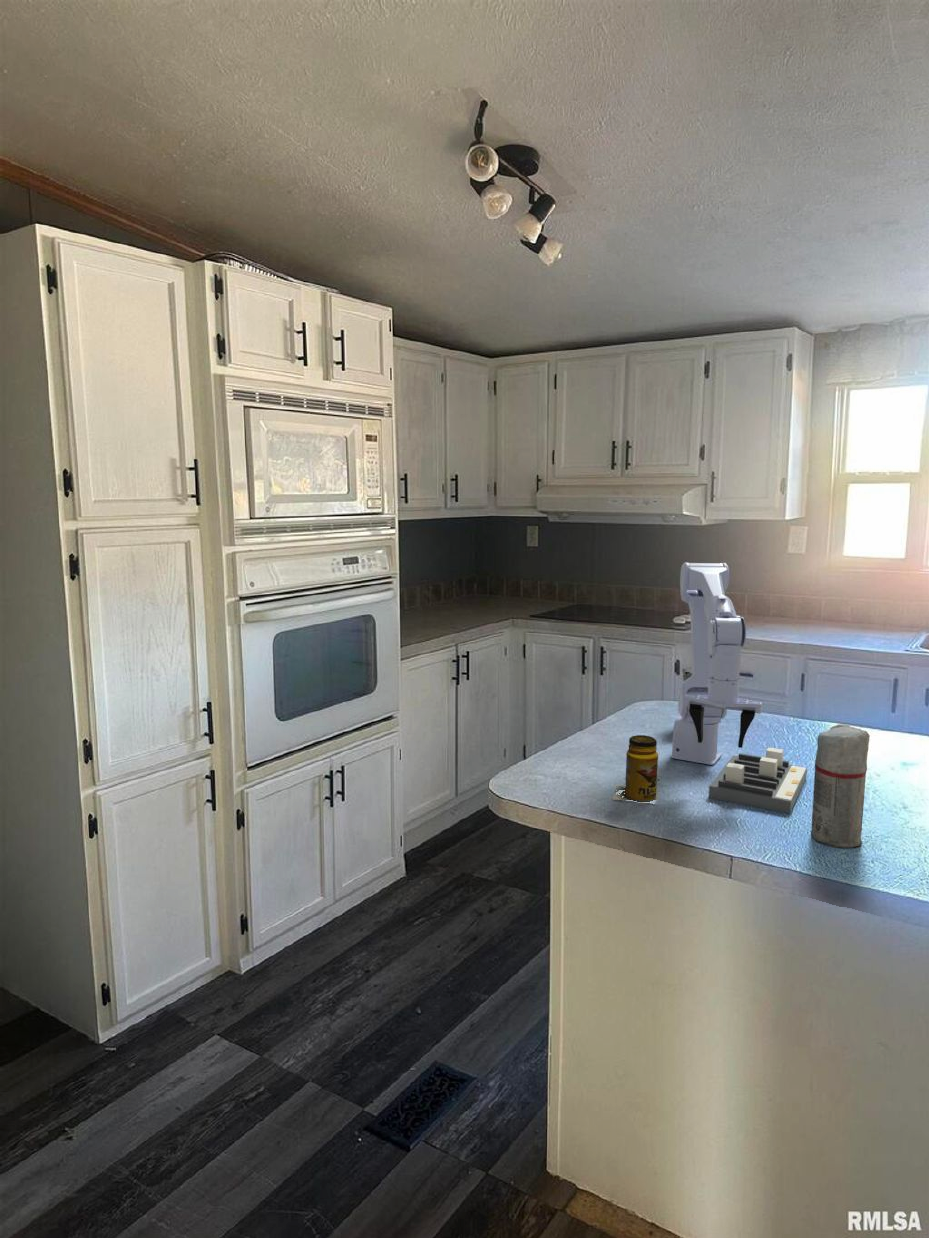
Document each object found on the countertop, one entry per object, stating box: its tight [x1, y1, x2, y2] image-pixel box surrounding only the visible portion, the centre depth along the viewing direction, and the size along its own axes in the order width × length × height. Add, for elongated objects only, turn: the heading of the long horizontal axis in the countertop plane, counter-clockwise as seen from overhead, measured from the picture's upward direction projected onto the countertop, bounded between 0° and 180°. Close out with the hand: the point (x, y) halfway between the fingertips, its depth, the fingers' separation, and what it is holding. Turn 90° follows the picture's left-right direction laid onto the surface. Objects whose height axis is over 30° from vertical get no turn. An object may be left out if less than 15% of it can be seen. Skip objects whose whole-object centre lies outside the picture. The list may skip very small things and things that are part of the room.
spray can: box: [810, 723, 870, 849], centre depth 134 cm, size 8×8×20 cm
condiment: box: [612, 734, 660, 806], centre depth 154 cm, size 7×8×12 cm
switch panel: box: [708, 753, 808, 814], centre depth 159 cm, size 15×21×3 cm
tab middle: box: [759, 756, 778, 778], centre depth 157 cm, size 3×2×4 cm
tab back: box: [765, 746, 785, 767], centre depth 163 cm, size 3×2×4 cm
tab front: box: [725, 762, 745, 784], centre depth 154 cm, size 3×2×4 cm
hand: (720, 743), depth 157 cm, fingers open, 7 cm apart
